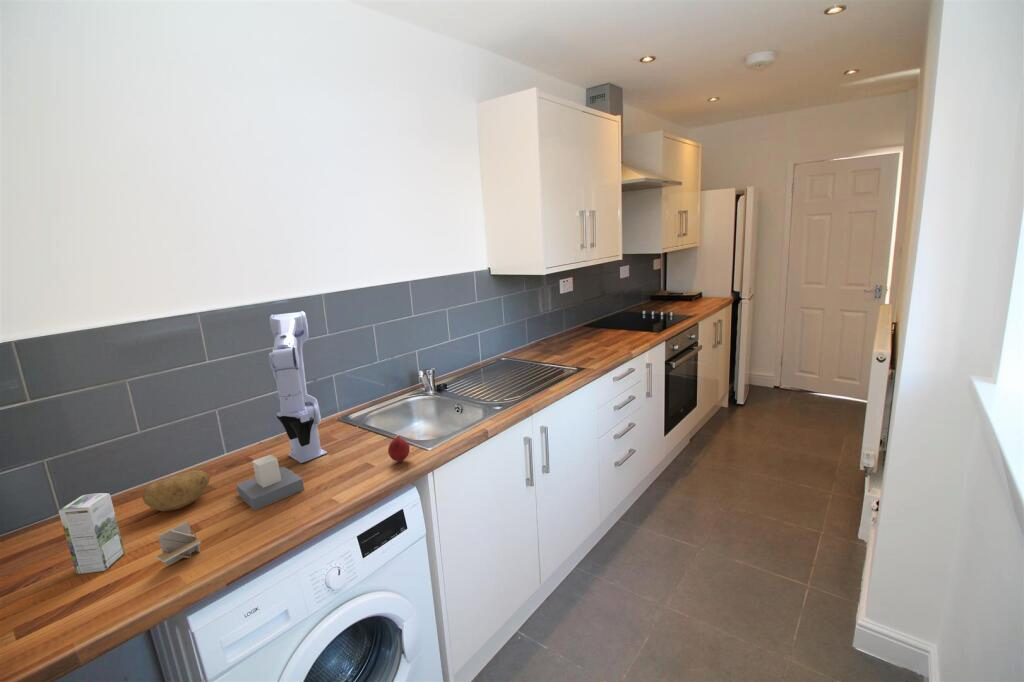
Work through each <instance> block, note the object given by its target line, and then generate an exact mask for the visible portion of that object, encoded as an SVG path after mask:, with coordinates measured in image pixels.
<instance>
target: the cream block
mask: <svg viewBox="0 0 1024 682" xmlns="http://www.w3.org/2000/svg"><path fill="white" fill-rule="evenodd" d="M251 461H252V467H253V471H254V476H255V477H256V481H257V483H258V484H259V485H260V486H262V487H263V488H264V487H267V486H269V485H272V484H274V483H277V482H279V481H282V480H281V475H280V470H279V468H280V467H279V459H278V458H277V457H275V456H274V455H272V454H269V455H266V456H263V457H260V458H257V459H254V460H251Z"/></svg>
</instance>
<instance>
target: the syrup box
mask: <svg viewBox="0 0 1024 682" xmlns="http://www.w3.org/2000/svg"><path fill="white" fill-rule="evenodd" d="M58 513H59V517H60V522H61V524H62V528H63V532H64V535H65V539H66V543H67V545H68V549H69V553H70V555H71V556H70V557H71V560H72V563H73V566H74V570H75V573H76V575H83V574H90V573H98V572H105V571H107V570H108V569H109V568H110V567H111V566H113V565H114V564H115V563H116V562H117V561H118V560H119V559H120V558H122V557H123V555H125V548H124V545H123V540H122V536H121V533H120V532H121V531H120V528H119V525H118V522H117V521H118V520H117V517H116V513H115V510H114V504H113V501H112V498H111V494H110V493H107V492H105V493H103V492H100V493H90V494H89V493H87V494H83V495H81V496H79V497H77V498H76V499H75V500H73V501H71V502H70V503H68V504H67V505H65V506H64V507H62V508H60V509H59V510H58Z"/></svg>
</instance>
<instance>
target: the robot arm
mask: <svg viewBox="0 0 1024 682" xmlns="http://www.w3.org/2000/svg"><path fill="white" fill-rule="evenodd" d="M269 326H270V331H271V333H272V335H273V339H274V342H273V350H272V352H269V354H268V355H269V356H268V359H269V360H268V361H269V366H270V368H271V371H272V375H273V378H274V380H275V382H276V388H277V393H278V399H279V404H280V405H279V408H280V411H279V412H277V413H276V415H277V416H276V418H277V419H278V421H279V422H280V423H281V424H282V426H283V428H284V430H285V433H286V435H287V437H288V440H289V444H290V445H289V446H290V452H289V453H288V456H289V457H290V458H292V459H294V460H295V461H296V462H299V463H300V464H302V463H307V462H308V461H311V460H314V459H316V458H318V457H321V456H324V455H327V453H328V452H327V451H326V450H324V449H322V447H321V446H322V445H321V441H320V435H319V429H318V425H320V423H321V421H322V419H321V418H322V417H321V412H320V410H321V409H320V406H319V401H318V400H317V398H316V397H314V396H312V395H310V394H308V390H307V382H306V381H307V380H306V373H305V364H304V356H303V347H304V346H303V345H304V344H305V342H307V341H308V340H309V335H310V334H309V328H308V327H309V326H308V319H307V314H306V312H304V311H303V310H301V311H298V312H288V313H281V314H280V313H279V314H271V315H270V316H269Z"/></svg>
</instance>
